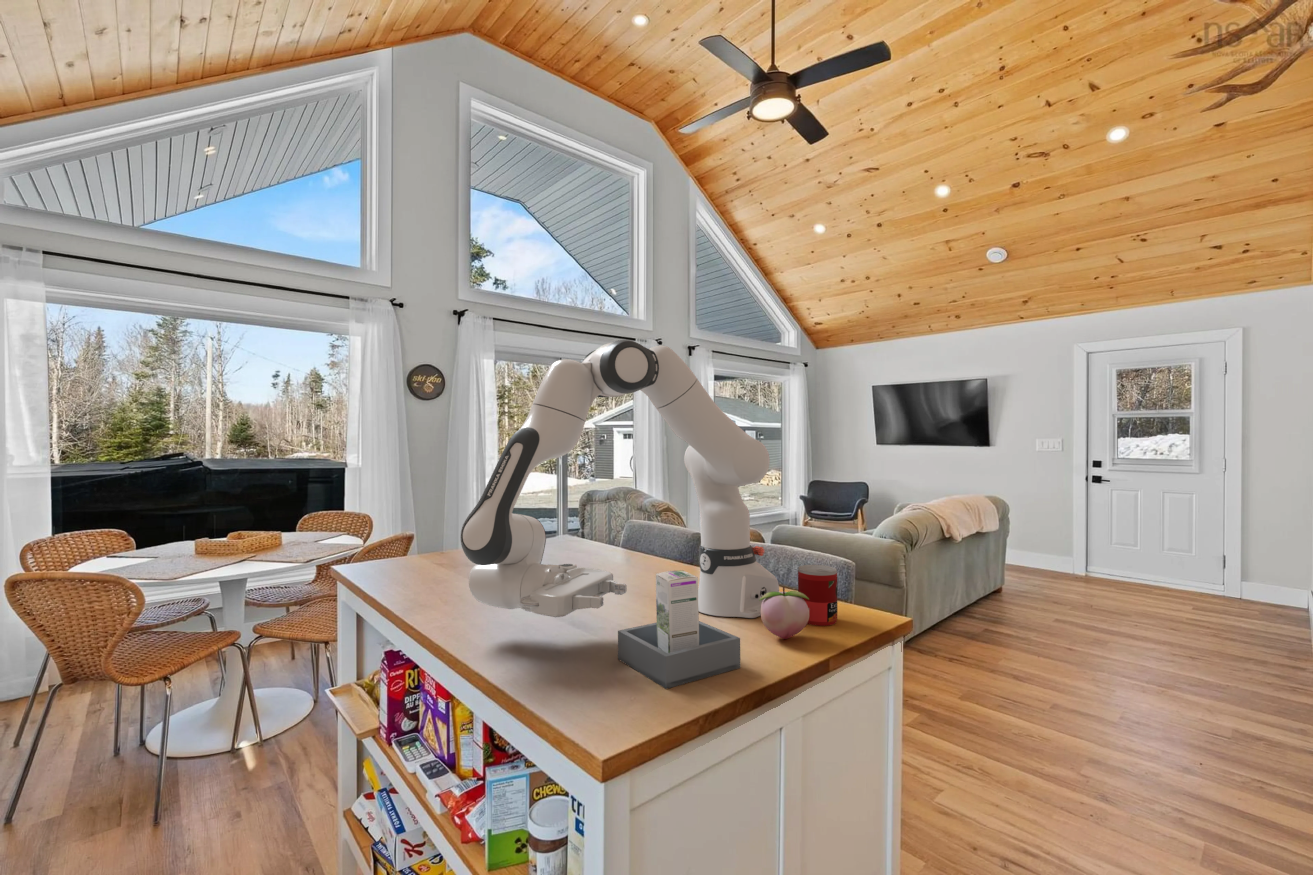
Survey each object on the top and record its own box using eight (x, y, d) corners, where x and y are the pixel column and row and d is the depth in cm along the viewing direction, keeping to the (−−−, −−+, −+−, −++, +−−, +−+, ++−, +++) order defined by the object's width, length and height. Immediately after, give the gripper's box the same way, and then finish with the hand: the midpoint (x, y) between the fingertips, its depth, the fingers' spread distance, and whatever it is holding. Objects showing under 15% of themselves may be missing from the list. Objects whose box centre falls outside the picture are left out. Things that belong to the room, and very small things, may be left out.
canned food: (836, 628, 120) (836, 573, 120) (796, 624, 123) (795, 570, 123) (838, 617, 127) (838, 565, 127) (800, 613, 130) (800, 563, 130)
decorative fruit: (799, 630, 119) (799, 580, 119) (815, 644, 111) (814, 590, 111) (753, 632, 118) (753, 582, 118) (766, 647, 109) (765, 592, 109)
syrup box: (700, 661, 100) (700, 575, 100) (669, 667, 98) (668, 579, 98) (685, 651, 106) (685, 569, 106) (655, 656, 103) (654, 572, 103)
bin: (687, 642, 112) (687, 616, 112) (740, 667, 100) (740, 637, 100) (618, 659, 104) (617, 630, 104) (666, 689, 91) (665, 656, 91)
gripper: (514, 584, 102) (585, 591, 97) (574, 561, 121) (636, 566, 116) (514, 621, 102) (585, 630, 97) (574, 592, 121) (636, 599, 116)
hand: (613, 595), depth 106 cm, fingers open, 8 cm apart
